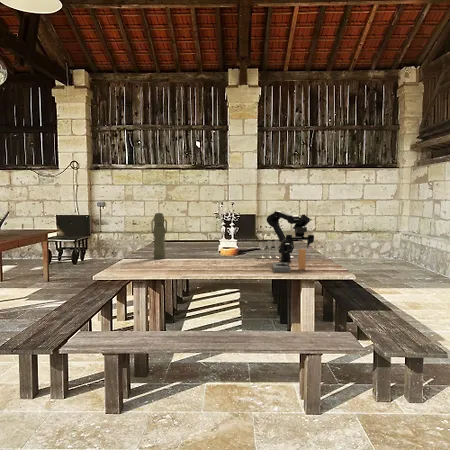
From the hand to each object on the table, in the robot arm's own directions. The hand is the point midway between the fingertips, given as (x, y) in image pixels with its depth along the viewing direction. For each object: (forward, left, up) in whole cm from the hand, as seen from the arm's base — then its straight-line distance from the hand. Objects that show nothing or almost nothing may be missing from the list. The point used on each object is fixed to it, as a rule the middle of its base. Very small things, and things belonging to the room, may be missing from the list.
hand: (300, 248), depth 267 cm
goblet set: (-44, +20, -13) cm, 50 cm away
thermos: (-94, -56, -13) cm, 110 cm away
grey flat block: (-2, -16, -13) cm, 21 cm away
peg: (+5, -4, -13) cm, 14 cm away
